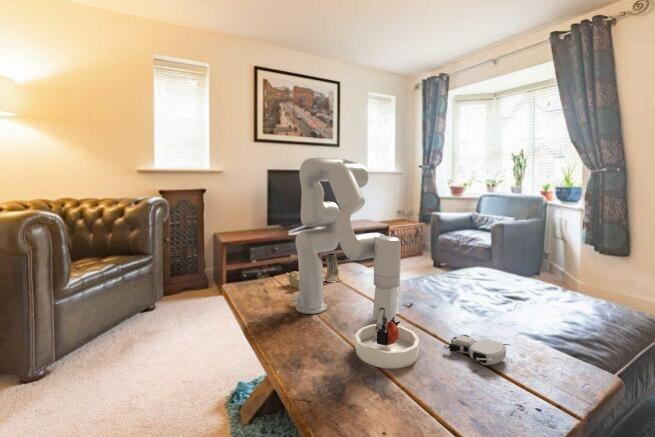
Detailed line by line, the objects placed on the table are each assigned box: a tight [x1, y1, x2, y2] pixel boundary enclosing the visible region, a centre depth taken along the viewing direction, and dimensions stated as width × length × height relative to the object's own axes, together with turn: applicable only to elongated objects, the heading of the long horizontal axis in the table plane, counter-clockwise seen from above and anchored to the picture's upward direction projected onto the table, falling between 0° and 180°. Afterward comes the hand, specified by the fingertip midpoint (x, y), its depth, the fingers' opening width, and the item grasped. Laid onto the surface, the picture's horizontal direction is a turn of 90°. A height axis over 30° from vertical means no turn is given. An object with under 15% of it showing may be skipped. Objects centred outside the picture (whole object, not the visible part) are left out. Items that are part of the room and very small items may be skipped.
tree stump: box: [323, 253, 340, 283], centre depth 169 cm, size 10×10×13 cm
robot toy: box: [443, 334, 511, 366], centre depth 94 cm, size 12×4×15 cm
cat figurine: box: [285, 270, 299, 289], centre depth 159 cm, size 8×7×12 cm
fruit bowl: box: [354, 323, 420, 370], centre depth 97 cm, size 18×18×4 cm
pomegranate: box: [373, 318, 401, 345], centre depth 96 cm, size 7×7×10 cm
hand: (386, 337), depth 96 cm, fingers closed on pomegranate, 7 cm apart
